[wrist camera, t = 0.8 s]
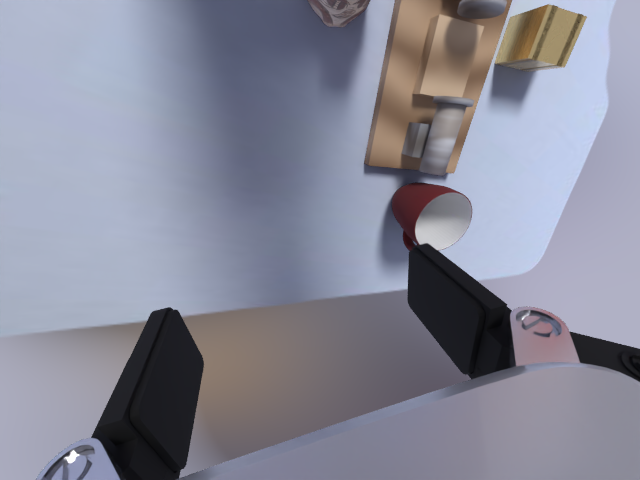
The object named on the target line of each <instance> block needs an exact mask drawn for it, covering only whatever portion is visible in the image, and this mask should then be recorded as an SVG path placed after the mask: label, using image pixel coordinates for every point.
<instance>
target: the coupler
mask: <svg viewBox="0 0 640 480" xmlns="http://www.w3.org/2000/svg"><path fill="white" fill-rule="evenodd" d="M586 18H587V17H586V16H583V15H582V14H577V13H574V12H570V11H567V10H564V9H561V8H558V7H557V6H554V5H549V4H548V5H545V6H542V7H539V8H536V9H533V10H530V11H527V12H524V13H521V14H518V15H515V16H512V17H510V20H509V23H508V26H507V28H506V31H505V34H504V37H503V40H502V43H501V46H500V49H499V52H498V55H497V58H496V61H495V64H498V65H500V66H507V67H511V68H516V69H520V70H522V71H537V70H545V69H554V68H562V67H565V66H566V63H567V61H568V59H569V56H570V54H571V52H572V50H573V47H574V45H575V43H576V40H577V38H578V36H579V34H580V31H581V29H582V27H583V25H584V22H585V20H586Z"/></svg>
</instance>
